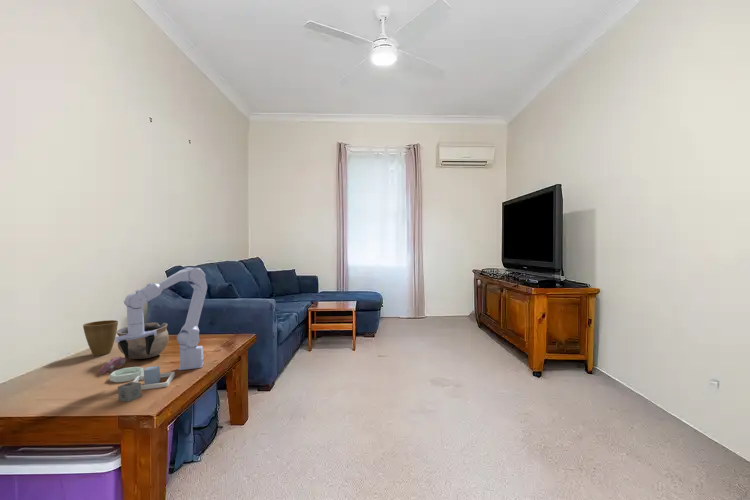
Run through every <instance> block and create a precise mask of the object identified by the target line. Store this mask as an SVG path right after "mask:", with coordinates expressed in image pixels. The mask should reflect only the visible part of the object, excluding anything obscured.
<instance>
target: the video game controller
mask: <svg viewBox="0 0 750 500" xmlns="http://www.w3.org/2000/svg"><path fill="white" fill-rule="evenodd" d="M125 362H126V359H125V357H122V356H118V357H112V358H111V359H110V360H107V361H106V362H104V364H103V365H102V366H101V367H100V368H99V369H98V373H99V374H101V375H102V374H105V373H106V372H109V373H112V372H113V371H117V370H120V369H121V366H123V365H124V364H125Z"/></svg>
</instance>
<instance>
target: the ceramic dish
mask: <svg viewBox="0 0 750 500" xmlns="http://www.w3.org/2000/svg"><path fill="white" fill-rule="evenodd" d="M144 370H145V368H144V367H142V366H141V367H140V366H132V367H123V368H119V369H117V370H113V371H112V372H110V374H109V382H112V383H124V382H125V383H126V382H132V381H134V380H135V379H136V377H137V376H142V375H144Z"/></svg>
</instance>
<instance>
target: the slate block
mask: <svg viewBox="0 0 750 500" xmlns="http://www.w3.org/2000/svg"><path fill="white" fill-rule="evenodd" d="M160 373H161V372H160V365H155V366H147V367H145V368H144V374H143V375H144V380H143V382H144V384H143V385H147V384H155V383H160V381H161V378H160Z"/></svg>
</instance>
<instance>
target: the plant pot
mask: <svg viewBox="0 0 750 500" xmlns="http://www.w3.org/2000/svg"><path fill="white" fill-rule="evenodd" d="M118 325H119V321H118V320H116V319H115V320H113V319H111V320H98V321H91V322H87V323H84V324H82V328H83V333H84V336H85V339H86V342H87V345H88V347H89V350H90V351H91V353H92V355H93V356H96V357H97V356H104V355H109V354H110V353H111V351H112V349H113V346H114V344H115V337H117V331H118Z"/></svg>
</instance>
